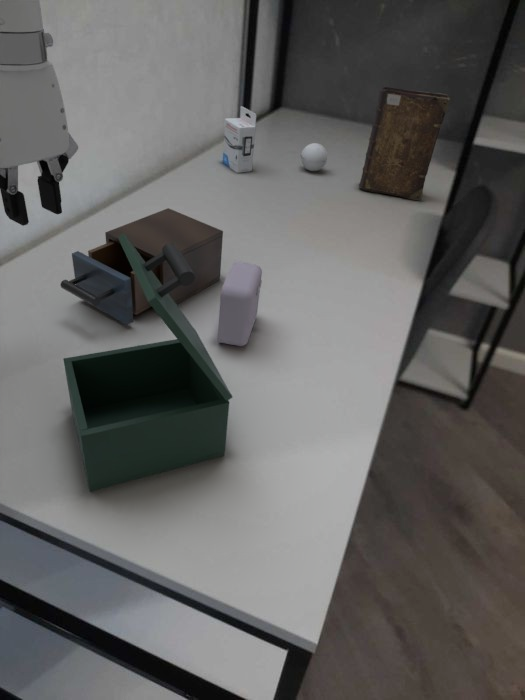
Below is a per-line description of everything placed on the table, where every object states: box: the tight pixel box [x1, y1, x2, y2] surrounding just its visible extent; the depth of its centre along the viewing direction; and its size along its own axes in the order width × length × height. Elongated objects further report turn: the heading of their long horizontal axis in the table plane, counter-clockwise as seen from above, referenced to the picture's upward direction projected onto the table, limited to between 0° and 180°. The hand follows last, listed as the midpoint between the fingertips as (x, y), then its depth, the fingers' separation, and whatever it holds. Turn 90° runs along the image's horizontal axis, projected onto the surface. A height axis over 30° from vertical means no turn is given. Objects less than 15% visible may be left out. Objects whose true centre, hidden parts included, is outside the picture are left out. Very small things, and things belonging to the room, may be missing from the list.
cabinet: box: [104, 207, 224, 306], centre depth 89 cm, size 15×13×10 cm
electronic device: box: [217, 260, 263, 347], centre depth 80 cm, size 10×5×10 cm, turn 170°
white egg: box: [300, 142, 328, 172], centre depth 144 cm, size 10×7×7 cm
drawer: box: [60, 241, 160, 326], centre depth 82 cm, size 18×11×8 cm, turn 145°
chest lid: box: [118, 234, 233, 401], centre depth 55 cm, size 16×13×5 cm
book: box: [358, 86, 451, 201], centre depth 132 cm, size 17×7×25 cm, turn 75°
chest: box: [63, 338, 230, 492], centre depth 61 cm, size 16×13×9 cm
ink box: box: [222, 105, 257, 174], centre depth 138 cm, size 8×5×15 cm, turn 32°
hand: (35, 214), depth 64 cm, fingers open, 4 cm apart
